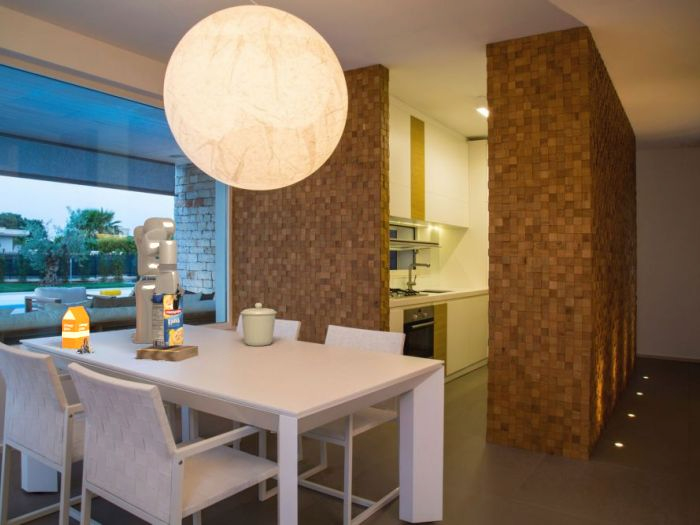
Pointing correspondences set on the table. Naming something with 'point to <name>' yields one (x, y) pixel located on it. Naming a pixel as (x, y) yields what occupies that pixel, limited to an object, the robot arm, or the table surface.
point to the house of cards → (85, 348)
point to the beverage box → (167, 321)
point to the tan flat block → (167, 352)
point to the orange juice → (75, 328)
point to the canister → (258, 325)
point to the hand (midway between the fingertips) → (167, 308)
